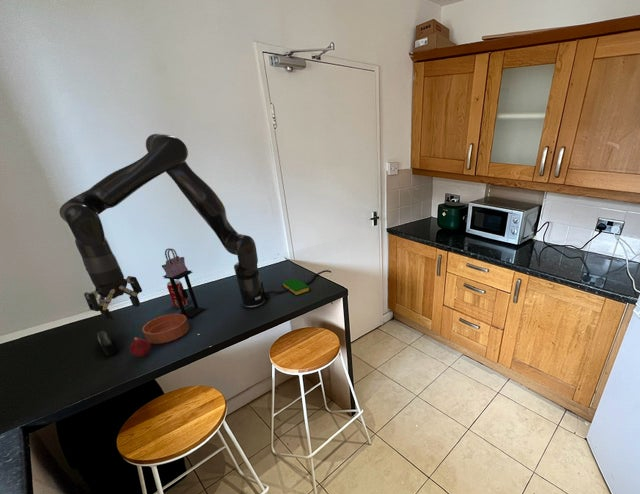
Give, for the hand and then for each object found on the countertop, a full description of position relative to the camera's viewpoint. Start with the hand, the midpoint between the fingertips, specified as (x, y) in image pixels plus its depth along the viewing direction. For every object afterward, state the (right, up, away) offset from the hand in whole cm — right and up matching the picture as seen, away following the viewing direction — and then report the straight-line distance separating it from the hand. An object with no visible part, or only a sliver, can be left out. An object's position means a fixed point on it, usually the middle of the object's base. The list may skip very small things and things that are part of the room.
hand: (123, 312), depth 104 cm
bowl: (0, -10, +20) cm, 23 cm away
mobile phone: (-17, -14, +12) cm, 25 cm away
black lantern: (0, -3, +34) cm, 34 cm away
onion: (+1, -17, +8) cm, 18 cm away
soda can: (-9, -1, +40) cm, 41 cm away
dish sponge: (+39, +7, +56) cm, 68 cm away
